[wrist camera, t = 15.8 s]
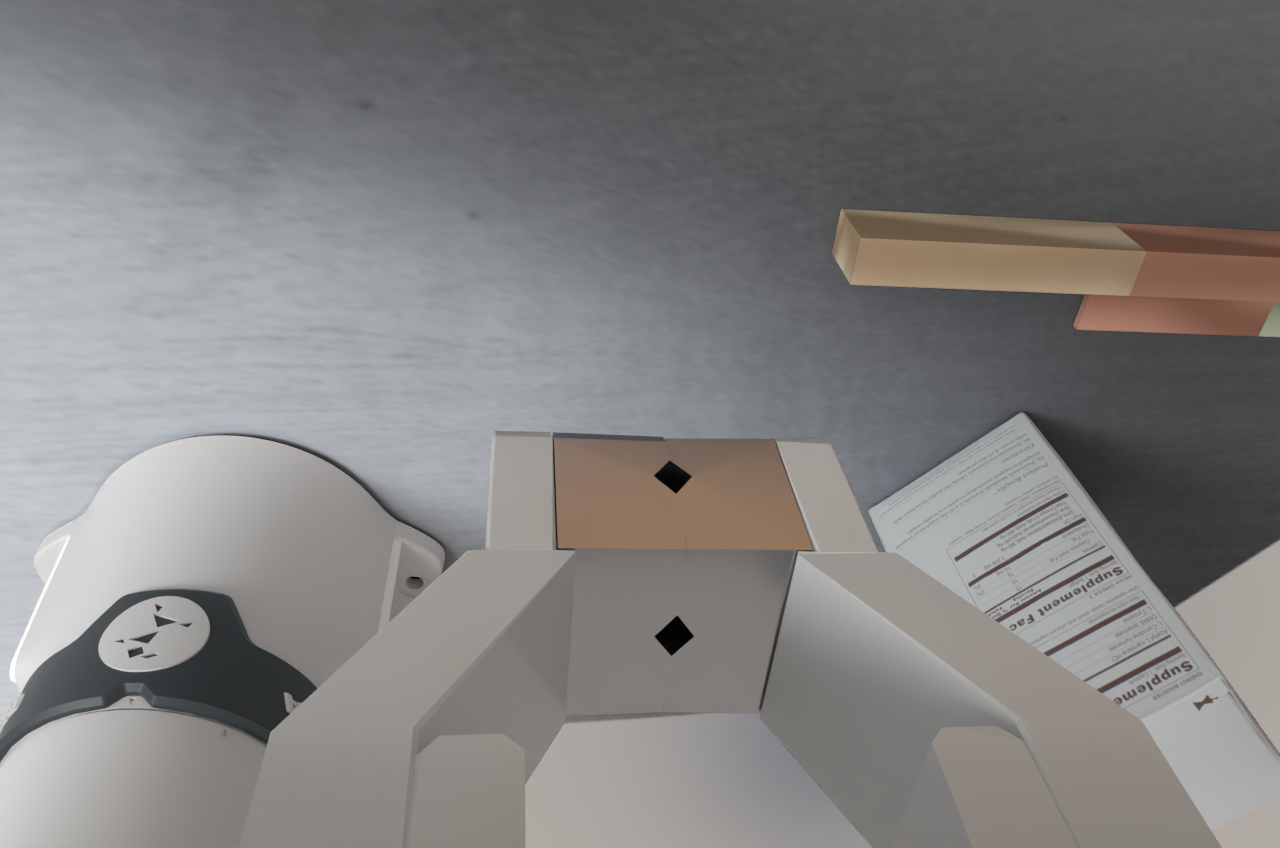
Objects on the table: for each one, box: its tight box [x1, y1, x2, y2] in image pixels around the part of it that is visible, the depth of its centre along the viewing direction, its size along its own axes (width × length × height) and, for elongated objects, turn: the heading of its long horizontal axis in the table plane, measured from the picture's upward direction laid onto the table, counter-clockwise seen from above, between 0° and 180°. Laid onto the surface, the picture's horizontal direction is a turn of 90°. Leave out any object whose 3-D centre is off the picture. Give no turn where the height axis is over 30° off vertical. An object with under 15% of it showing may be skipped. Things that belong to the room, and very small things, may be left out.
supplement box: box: [869, 412, 1280, 830], centre depth 44 cm, size 10×9×17 cm
